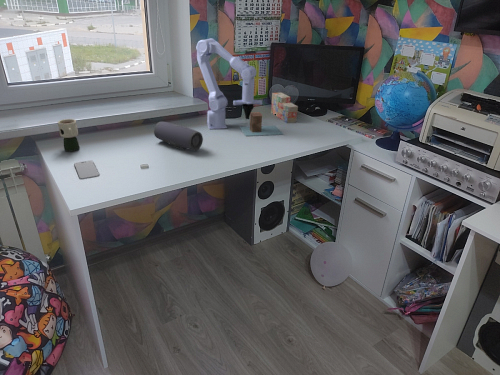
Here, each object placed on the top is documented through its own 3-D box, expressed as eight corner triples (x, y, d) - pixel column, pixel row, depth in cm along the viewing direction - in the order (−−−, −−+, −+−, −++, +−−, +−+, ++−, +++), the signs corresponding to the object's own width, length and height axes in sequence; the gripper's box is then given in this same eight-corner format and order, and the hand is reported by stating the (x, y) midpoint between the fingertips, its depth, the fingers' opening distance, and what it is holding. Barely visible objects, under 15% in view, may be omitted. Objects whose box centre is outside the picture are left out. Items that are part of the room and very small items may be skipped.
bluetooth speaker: (204, 149, 172) (203, 128, 167) (190, 155, 165) (189, 133, 160) (168, 138, 183) (167, 118, 178) (153, 143, 176) (152, 122, 171)
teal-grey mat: (245, 136, 189) (245, 135, 189) (239, 127, 201) (239, 126, 201) (283, 134, 194) (283, 133, 194) (275, 126, 206) (275, 125, 206)
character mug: (61, 147, 167) (55, 118, 161) (78, 144, 171) (73, 116, 165) (65, 155, 159) (59, 126, 153) (83, 152, 163) (78, 123, 157)
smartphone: (79, 178, 140) (73, 163, 151) (80, 181, 140) (73, 165, 152) (100, 175, 143) (92, 160, 154) (100, 177, 144) (93, 162, 155)
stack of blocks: (296, 122, 214) (298, 100, 208) (286, 123, 212) (288, 101, 206) (279, 112, 231) (281, 92, 226) (270, 112, 229) (271, 92, 223)
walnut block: (251, 132, 194) (252, 115, 190) (249, 129, 198) (250, 112, 194) (261, 131, 195) (262, 114, 191) (258, 128, 199) (259, 112, 195)
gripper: (235, 94, 181) (234, 121, 187) (264, 93, 185) (262, 120, 191) (232, 90, 187) (232, 117, 194) (260, 90, 191) (259, 116, 197)
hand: (247, 118), depth 193 cm, fingers closed
